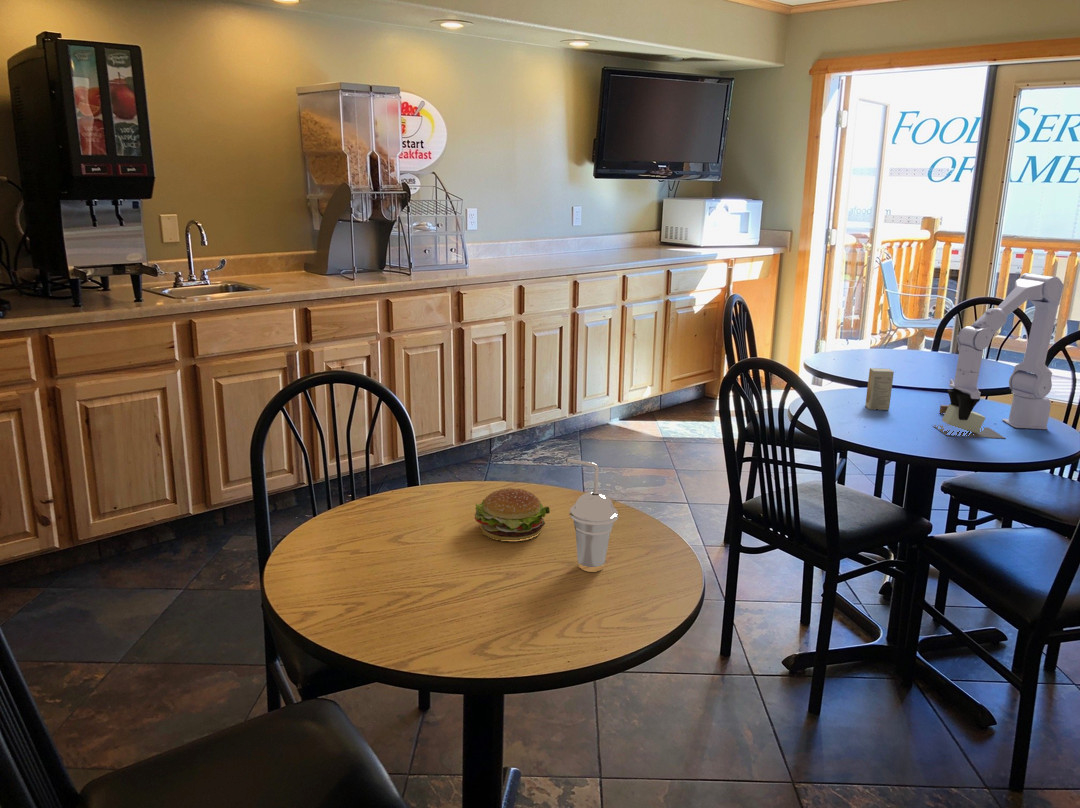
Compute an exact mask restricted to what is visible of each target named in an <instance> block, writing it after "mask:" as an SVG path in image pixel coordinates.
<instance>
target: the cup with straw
mask: <svg viewBox="0 0 1080 808" xmlns="http://www.w3.org/2000/svg"><path fill="white" fill-rule="evenodd" d="M565 462H566V463H570V464H575V465H581V466H586V467H591V468H593V469H594V478H593V479H594V480H593V481H594V482H593V491H592V490H591V491H588V492H585V493H584V494H582V495H580V496H579V497H578V498H577V500H576V501H575V503H574V505H572V506H571V507H570V509H569V513H568V515H569V518H570V519H572V520H573V525H574V530H575V541H576V555H577V556H576V557H577V562H579V563H578V564H581V565H583V566H587V567H597V566H601V565H603V564H604V565H605V564H606V559H607V558H606V557H607V554H608V553H607V552H608V547H609V541H610V536H611V533H612V529H613V527H614V523H615V522H616V521H618V519H619V512H618V510H617V509H616V508H615V507H614V503H613V502H612V500H611V499H610V498H609V496H608V495H606V494H605V493H602V492H599V491H598V489H599V474H600V472H599V471H600V470H599V469H600V468H599V465H598V464H597V463H595V462H591V461H586V460H585V461H584V460H579V459H576V458H575V459H573V458H569V457H567V458H566V459H565ZM604 565H603V566H604Z"/></svg>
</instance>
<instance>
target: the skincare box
mask: <svg viewBox="0 0 1080 808" xmlns="http://www.w3.org/2000/svg"><path fill="white" fill-rule="evenodd" d="M894 373H895V372H894V370H892V369H891V368H877V367H875V368H874V367H870V368H869V372H868V380H867V381H868V382H867V389H866V397H865V403H864V405H865V407H866V408H867V409H868V410H876V409H878V410H879V411H880V410H881V411H890V405H891V397H892V388H893V381H894Z"/></svg>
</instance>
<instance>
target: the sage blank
mask: <svg viewBox="0 0 1080 808" xmlns="http://www.w3.org/2000/svg"><path fill="white" fill-rule="evenodd" d="M985 420H986V417H985V416H984V415H983V414H980V413H979V412H975V411H973V410H972V411H971V414H970V416H969V418H968V420H960V419H959V407H957V406H954V405H951V403H949V404H948V408H947V410H946V412H945V414H943V416H942V419H941V421H942V422H944V423H946V424H947V425H948V426H955V427H958V428H961V429H964V430H967V431H971V432H974V433H977V434H978V433H979V430H980V428H981V427H982V426H983V424H984V422H985Z"/></svg>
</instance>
